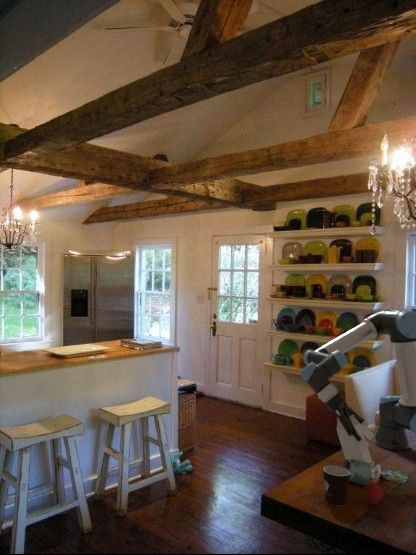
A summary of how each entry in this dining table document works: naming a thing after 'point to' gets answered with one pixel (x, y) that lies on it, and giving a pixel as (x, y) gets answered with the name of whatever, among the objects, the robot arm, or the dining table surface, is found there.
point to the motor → (362, 471)
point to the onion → (373, 492)
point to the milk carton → (352, 442)
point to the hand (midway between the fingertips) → (369, 442)
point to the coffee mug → (336, 484)
